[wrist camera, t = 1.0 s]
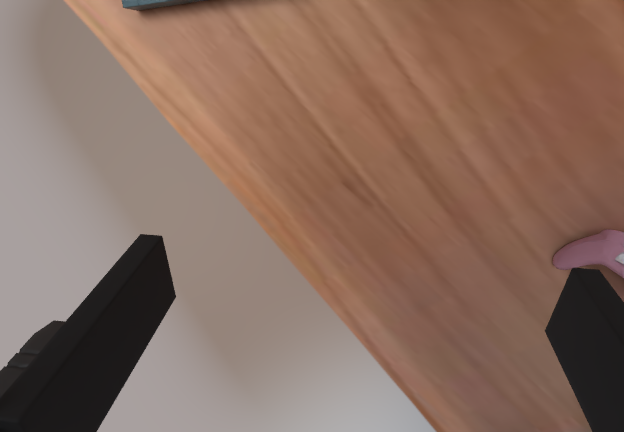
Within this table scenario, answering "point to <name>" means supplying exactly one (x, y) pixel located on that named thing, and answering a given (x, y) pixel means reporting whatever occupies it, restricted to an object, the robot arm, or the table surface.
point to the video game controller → (594, 252)
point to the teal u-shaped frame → (153, 3)
